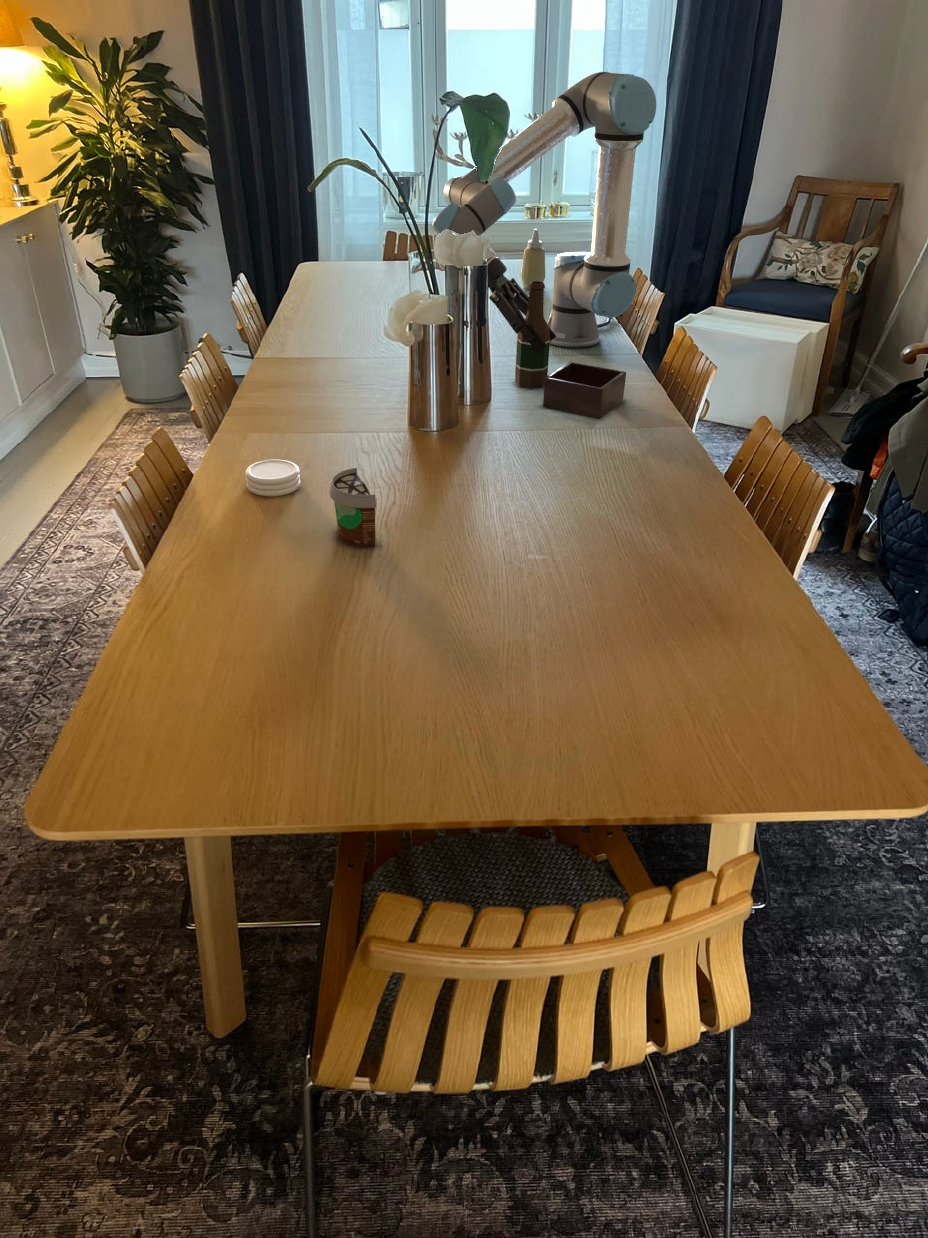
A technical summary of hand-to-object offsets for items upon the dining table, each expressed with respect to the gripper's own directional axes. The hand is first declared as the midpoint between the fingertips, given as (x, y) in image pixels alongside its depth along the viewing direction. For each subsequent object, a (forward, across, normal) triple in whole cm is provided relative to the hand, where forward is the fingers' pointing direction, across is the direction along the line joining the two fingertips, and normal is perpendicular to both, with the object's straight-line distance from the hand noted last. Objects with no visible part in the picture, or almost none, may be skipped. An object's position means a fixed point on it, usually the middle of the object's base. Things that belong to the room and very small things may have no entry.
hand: (547, 344), depth 226 cm
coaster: (-15, +75, -30) cm, 82 cm away
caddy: (+15, +9, +1) cm, 18 cm away
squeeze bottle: (-14, -92, -28) cm, 97 cm away
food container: (0, +88, -14) cm, 89 cm away
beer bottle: (+5, 0, -10) cm, 11 cm away
